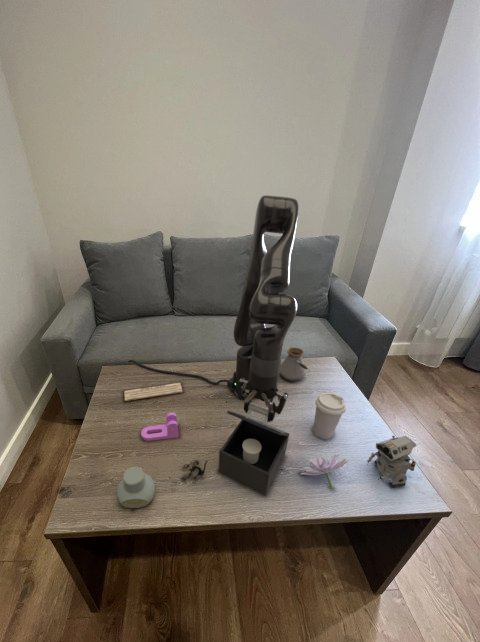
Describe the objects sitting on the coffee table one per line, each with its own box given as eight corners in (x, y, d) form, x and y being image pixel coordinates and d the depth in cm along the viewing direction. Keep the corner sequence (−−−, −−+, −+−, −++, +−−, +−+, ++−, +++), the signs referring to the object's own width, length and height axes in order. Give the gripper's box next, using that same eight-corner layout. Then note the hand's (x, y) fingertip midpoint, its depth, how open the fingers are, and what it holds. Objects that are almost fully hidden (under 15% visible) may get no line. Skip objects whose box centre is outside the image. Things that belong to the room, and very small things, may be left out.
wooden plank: (125, 402, 128) (124, 398, 127) (124, 391, 134) (124, 387, 133) (182, 393, 132) (182, 390, 131) (179, 383, 138) (179, 379, 137)
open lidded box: (265, 496, 93) (269, 475, 87) (218, 472, 100) (219, 451, 94) (284, 456, 104) (288, 435, 99) (241, 437, 111) (243, 417, 106)
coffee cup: (339, 444, 108) (350, 411, 100) (310, 440, 110) (318, 408, 101) (334, 424, 116) (344, 392, 108) (307, 420, 117) (314, 389, 109)
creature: (177, 479, 99) (199, 487, 95) (173, 467, 97) (195, 474, 92) (191, 461, 105) (211, 468, 100) (187, 449, 102) (208, 455, 98)
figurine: (356, 465, 101) (369, 432, 93) (390, 461, 102) (406, 428, 94) (373, 491, 93) (389, 457, 85) (409, 486, 94) (429, 453, 86)
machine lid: (279, 435, 83) (286, 416, 84) (226, 413, 90) (233, 396, 91) (288, 436, 99) (294, 420, 99) (242, 417, 106) (248, 402, 106)
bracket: (176, 425, 117) (176, 411, 113) (178, 437, 112) (177, 423, 108) (141, 429, 115) (139, 416, 112) (141, 441, 111) (139, 427, 107)
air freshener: (116, 510, 90) (111, 489, 84) (120, 484, 97) (115, 463, 91) (155, 508, 90) (152, 487, 85) (156, 482, 97) (153, 461, 92)
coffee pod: (237, 457, 97) (238, 446, 94) (248, 447, 100) (249, 435, 97) (253, 468, 94) (254, 456, 91) (263, 456, 97) (265, 445, 94)
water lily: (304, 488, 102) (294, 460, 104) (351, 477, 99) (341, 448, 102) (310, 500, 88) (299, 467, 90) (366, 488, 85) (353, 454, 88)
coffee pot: (275, 368, 145) (279, 340, 137) (300, 368, 145) (306, 339, 137) (286, 399, 128) (291, 369, 119) (315, 399, 127) (322, 369, 119)
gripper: (297, 369, 81) (287, 417, 90) (245, 353, 88) (241, 399, 97) (287, 384, 76) (278, 434, 85) (233, 366, 82) (229, 414, 91)
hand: (258, 415), depth 91 cm, fingers closed on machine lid, 6 cm apart
